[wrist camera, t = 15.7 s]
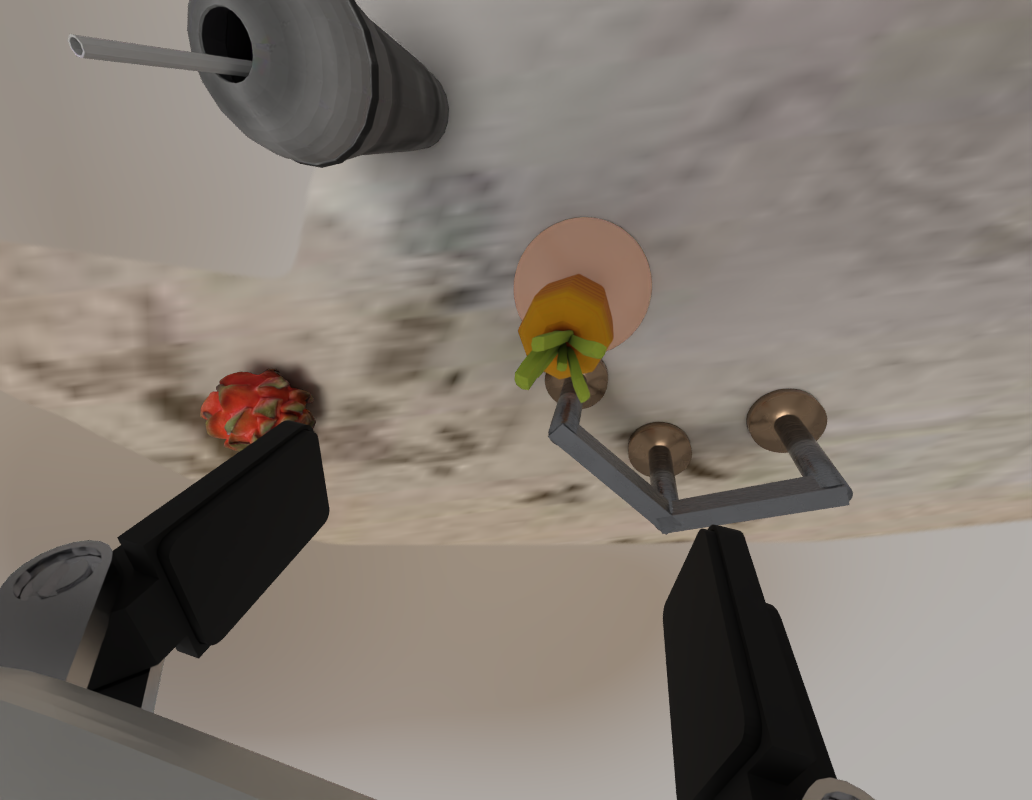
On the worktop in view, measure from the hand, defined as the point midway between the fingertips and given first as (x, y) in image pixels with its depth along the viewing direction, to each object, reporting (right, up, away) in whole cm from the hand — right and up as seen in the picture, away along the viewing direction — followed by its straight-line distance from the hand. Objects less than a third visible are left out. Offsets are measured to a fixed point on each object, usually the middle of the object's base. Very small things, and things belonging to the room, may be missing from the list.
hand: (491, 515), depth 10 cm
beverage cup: (-6, +22, +18) cm, 29 cm away
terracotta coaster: (+5, +11, +21) cm, 24 cm away
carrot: (+6, +11, +20) cm, 24 cm away
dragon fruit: (-23, +3, +33) cm, 40 cm away
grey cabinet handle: (+13, +1, +24) cm, 27 cm away
